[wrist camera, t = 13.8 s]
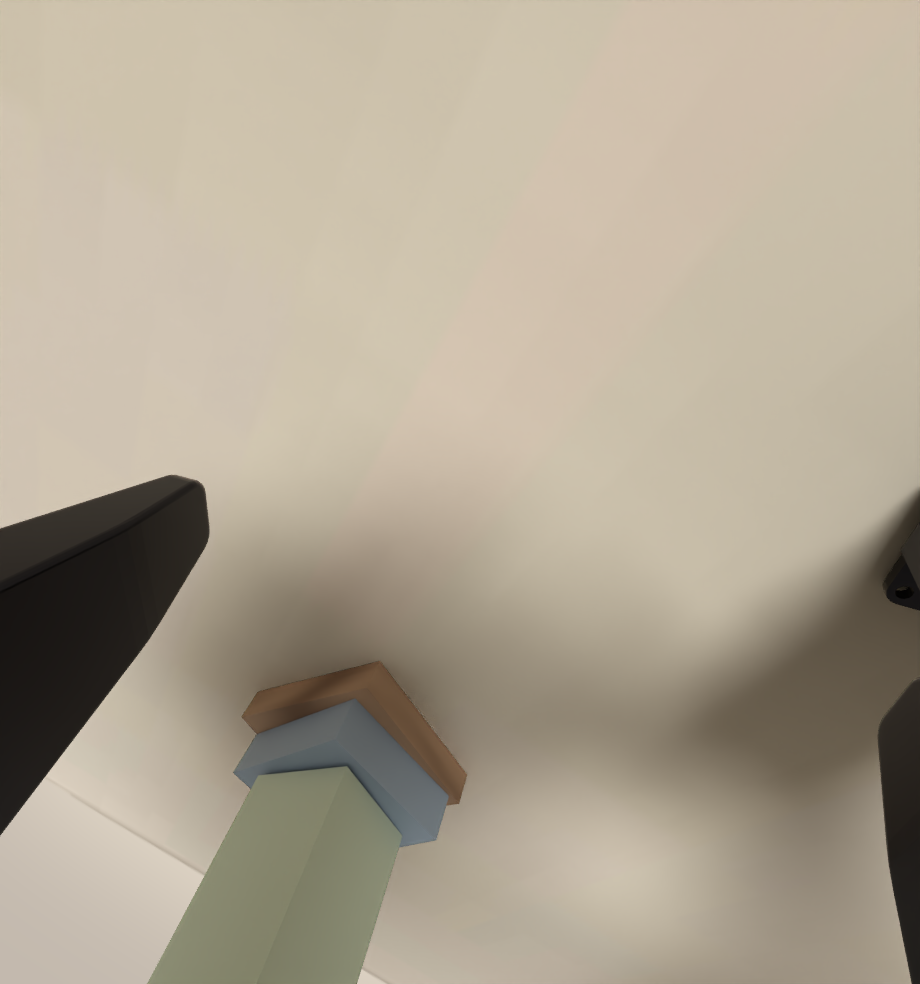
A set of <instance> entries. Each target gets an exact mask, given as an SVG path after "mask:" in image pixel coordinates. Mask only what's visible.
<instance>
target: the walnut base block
mask: <svg viewBox="0 0 920 984" xmlns="http://www.w3.org/2000/svg"><path fill="white" fill-rule="evenodd" d="M352 699H356V700H357V701H358V702H359V703H360V704H361V705H362V706H363V707H364V708H365V709H366V710H367V711H368V712H369V713H370V714H371V715H372V716H373V717H374V719H375V720H376V721H377V722H378V723H379V724H380V725H381V726H382V727H383V728H384V729H385V730H386V731H387V732H388V733H389V734H390V735H391V736H392V737H393V738H394V739H395V740H396V741H397V742H398V744H399V745H400V746H401V747H402V748H403V749H404V750H405V751H406V752H407V753H408V754H409V755H410V756H411V757H412V758H413V759H414V760H415V761H416V762H417V763H418V764H419V765H420V766H421V767H422V769H423V770H424V771H425V772H426V773H427V774H428V775H429V776H430V777H431V778H432V779H433V780H434V781H435V782H436V783H437V784H438V785H439V786H440V787H441V788H442V789H443V790H444V791H445V792H446V793H447V795H448V796H449V798H448V801H447V804H446V805H453V804H459V802H460V798H461V795H462V791H463V788H464V784H465V781H466V777H467V774H466V773H465V771H464V770H463V769H462V767H461V766H460V765H459V763H458V762H457V761H456V760H455V758H454V757H453V756H452V754H451V753H450V752H449V750H448V749H447V748H446V747H445V745H444V744H443V743H442V741H441V740H440V739H439V737H438V736H437V735H436V734H435V732H434V731H433V730H432V728H431V727H430V726H429V724H428V723H427V722H426V720H425V719H424V718H423V717H422V715H421V714H420V713H419V711H418V710H417V709H416V707H415V706H414V705H413V704H412V702H411V701H410V700H409V698H408V697H407V696H406V694H405V693H404V692H403V691H402V689H401V688H400V687H399V685H398V684H397V683H396V681H395V680H394V679H393V677H392V676H391V675H390V674H389V672H388V671H387V670H386V668H385V667H384V666H383V664H382V663H381V662H380V661H378V662H374V663H370V664H366V665H362V666H358V667H354V668H350V669H346V670H342V671H338V672H334V673H330V674H326V675H322V676H318V677H314V678H310V679H306V680H302V681H298V682H295V683H291V684H287V685H283V686H279V687H275V688H271V689H267V690H263V691H259V692H257V694H256V696H255V697H254V699H253V700H252V702H251V703H250V705H249V706H248V708H247V709H246V711H245V712H244V714H243V715H242V718H243V719H244V720H245V721H246V722H247V724H248V725H249V726H250V727H251V728H252V729H253V730H254V731H255V732H256V733H257V734H259V733H261V732H264V731H267V730H270V729H272V728H275V727H278V726H281V725H283V724H286V723H289V722H292V721H294V720H297V719H300V718H303V717H305V716H308V715H311V714H313V713H316V712H319V711H322V710H324V709H327V708H330V707H333V706H335V705H338V704H341V703H344V702H346V701H349V700H352Z"/></svg>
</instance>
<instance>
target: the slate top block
mask: <svg viewBox="0 0 920 984" xmlns="http://www.w3.org/2000/svg"><path fill="white" fill-rule="evenodd" d="M344 766H347V767H348V768H349V769H350V771H351V772H352V773H353V774H354V776H355V777H356V778H357V779H358V781H359V782H360V783H361V784H362V786H363V787H364V788H365V789H366V791H367V792H368V793H369V794H370V796H371V797H372V798H373V800H374V801H375V802H376V803H377V805H378V806H379V807H380V808H381V810H382V811H383V812H384V813H385V815H386V816H387V817H388V818H389V820H390V821H391V822H392V823H393V825H394V826H395V827H396V828H397V830H398V831H399V832H400V833H401V835H402V839H401V842H400V845H399V847H404V846H409V845H414V844H419V843H424V842H429V841H434V840H436V838H437V835H438V832H439V828H440V825H441V821H442V818H443V815H444V811H445V808H446V804H447V801H448V798H449V796H448V795H447V793H446V792H445V791H444V790H443V789H442V788H441V787H440V786H439V785H438V784H437V783H436V782H435V781H434V780H433V779H432V778H431V777H430V776H429V775H428V774H427V773H426V772H425V771H424V770H423V769H422V767H421V766H420V765H419V764H418V763H417V762H416V761H415V760H414V759H413V758H412V757H411V756H410V755H409V754H408V753H407V752H406V751H405V750H404V749H403V748H402V747H401V746H400V745H399V744H398V742H397V741H396V740H395V739H394V738H393V737H392V736H391V735H390V734H389V733H388V732H387V731H386V730H385V729H384V728H383V727H382V726H381V725H380V724H379V723H378V722H377V721H376V720H375V719H374V717H373V716H372V715H371V714H370V713H369V712H368V711H367V710H366V709H365V708H364V707H363V706H362V705H361V704H360V703H359V702H358V701H357V700H356V699H352V700H349V701H346V702H344V703H341V704H338V705H335V706H333V707H330V708H327V709H324V710H322V711H319V712H316V713H313V714H311V715H308V716H305V717H303V718H300V719H297V720H294V721H292V722H289V723H286V724H283V725H281V726H278V727H275V728H272V729H270V730H267V731H264V732H261V733H259V734H257V735H256V736H255V738H254V740H253V741H252V743H251V744H250V746H249V748H248V749H247V751H246V753H245V754H244V756H243V758H242V759H241V761H240V762H239V764H238V766H237V767H236V769H235V771H234V772H233V773H234V774H235V775H236V776H237V777H238V778H239V779H240V780H242V781H243V782H244V783H245V784H246V785H247V786H248V787H249V788H250V789H251V788H252V786H253V784H254V782H255V780H256V779H257V777H258V775H267V774H277V773H287V772H296V771H306V770H315V769H325V768H334V767H344Z"/></svg>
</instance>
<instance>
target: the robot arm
mask: <svg viewBox="0 0 920 984" xmlns="http://www.w3.org/2000/svg"><path fill="white" fill-rule="evenodd" d="M208 538H209V520H208V510H207V501H206V493H205V488H204V486H203V485H202V483H200V482H199V481H197V480H193V479H189V478H186V477H182V476H178V475H168V476H165V477H161V478H158V479H155V480H152V481H149V482H146V483H143V484H139V485H136V486H133V487H130V488H127V489H124V490H120V491H117V492H114V493H111V494H108V495H105V496H102V497H98V498H95V499H92V500H89V501H86V502H83V503H79V504H76V505H73V506H70V507H67V508H64V509H60V510H57V511H54V512H51V513H48V514H45V515H42V516H38V517H35V518H32V519H29V520H26V521H23V522H19V523H16V524H13V525H10V526H7V527H4V528H1V529H0V835H1V834H2V833H3V831H4V830H5V828H6V827H7V826H8V825H9V823H10V822H11V821H12V820H13V818H14V817H15V816H16V814H17V813H18V812H19V810H20V809H21V808H22V806H23V805H24V804H25V802H26V801H27V800H28V798H29V797H30V796H31V795H32V793H33V792H34V791H35V789H36V788H37V787H38V785H39V784H40V783H41V781H42V780H43V779H44V777H45V776H46V775H47V774H48V772H49V771H50V770H51V768H52V767H53V766H54V764H55V763H56V762H57V760H58V759H59V758H60V756H61V755H62V754H63V752H64V751H65V750H66V749H67V747H68V746H69V745H70V743H71V742H72V741H73V739H74V738H75V737H76V735H77V734H78V733H79V731H80V730H81V729H82V728H83V726H84V725H85V724H86V722H87V721H88V720H89V718H90V717H91V716H92V714H93V713H94V712H95V710H96V709H97V708H98V707H99V705H100V704H101V703H102V701H103V700H104V699H105V697H106V696H107V695H108V693H109V692H110V691H111V689H112V688H113V687H114V685H115V684H116V683H117V682H118V680H119V679H120V678H121V676H122V675H123V674H124V672H125V671H126V670H127V668H128V667H129V666H130V664H131V663H132V662H133V661H134V659H135V658H136V657H137V655H138V654H139V653H140V651H141V650H142V648H143V647H144V646H145V644H146V643H147V642H148V640H149V639H150V637H151V636H152V634H153V633H154V631H155V630H156V628H157V626H158V625H159V623H160V622H161V620H162V618H163V617H164V615H165V613H166V612H167V610H168V608H169V607H170V605H171V603H172V602H173V600H174V598H175V597H176V595H177V594H178V592H179V590H180V589H181V587H182V585H183V584H184V582H185V580H186V579H187V577H188V575H189V574H190V572H191V570H192V569H193V567H194V565H195V564H196V562H197V560H198V559H199V557H200V555H201V554H202V552H203V550H204V549H205V547H206V544H207V542H208ZM901 552H902V556H901V557H900V559H899V560H898V561H897V563H896V564H895V566H894V567H893V569H892V570H891V571H890V573H889V574H888V576H887V577H886V578H885V580H884V582H883V589H884V591H885V594H886V596H887V598H888V599H889V600H890V601H891V602H893V603H895V604H898V605H902V606H905V607H909V608H912V609H916V610H919V611H920V523H919V524H918V525H917V527H916V528H915V530H914V531H913V533H912V534H911V535H910V537H909V538H908V540H907V541H906V543H905V544H904V545H903V547H902V549H901ZM902 586H909V587H908V588H907V589H906V590H902V591H899V590H897V589H898V588H899V587H902ZM878 748H879V760H880V772H881V784H882V796H883V808H884V821H885V833H886V844H887V853H888V862H889V868H890V874H891V880H892V886H893V891H894V896H895V901H896V906H897V911H898V916H899V921H900V927H901V932H902V937H903V942H904V947H905V952H906V957H907V962H908V967H909V972H910V977H911V982H912V984H920V677H918V678H916V679H914V680H913V681H912V682H911V683H910V684H909V685H908V687H907V688H906V689H905V690H904V692H903V693H902V694H901V695H900V697H899V698H898V699H897V700H896V702H895V703H894V704H893V705H892V707H891V708H890V709H889V711H888V712H887V713H886V714H885V716H884V717H883V719H882V721H881V723H880V726H879V730H878Z"/></svg>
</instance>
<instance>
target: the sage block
mask: <svg viewBox="0 0 920 984" xmlns="http://www.w3.org/2000/svg"><path fill="white" fill-rule="evenodd" d="M401 839H402V835H401V833H400V832H399V831H398V830H397V828H396V827H395V826H394V825H393V823H392V822H391V821H390V820H389V818H388V817H387V816H386V815H385V813H384V812H383V811H382V810H381V808H380V807H379V806H378V805H377V803H376V802H375V801H374V800H373V798H372V797H371V796H370V794H369V793H368V792H367V791H366V789H365V788H364V787H363V786H362V784H361V783H360V782H359V781H358V779H357V778H356V777H355V776H354V774H353V773H352V772H351V771H350V769H349V768H348V767H347V766H344V767H334V768H325V769H315V770H306V771H296V772H287V773H277V774H267V775H258V777H257V779H256V780H255V782H254V784H253V786H252V788H251V790H250V792H249V794H248V795H247V797H246V799H245V801H244V803H243V805H242V807H241V809H240V810H239V812H238V814H237V816H236V818H235V820H234V822H233V824H232V826H231V827H230V829H229V831H228V833H227V835H226V837H225V839H224V841H223V842H222V844H221V846H220V848H219V850H218V852H217V854H216V856H215V857H214V859H213V861H212V863H211V865H210V867H209V869H208V871H207V872H206V874H205V876H204V878H203V880H202V882H201V884H200V886H199V887H198V889H197V891H196V893H195V895H194V897H193V899H192V901H191V903H190V904H189V906H188V908H187V910H186V912H185V914H184V916H183V918H182V920H181V921H180V923H179V925H178V927H177V929H176V931H175V933H174V934H173V936H172V938H171V940H170V942H169V944H168V946H167V948H166V949H165V951H164V953H163V955H162V957H161V959H160V961H159V963H158V964H157V967H156V968H155V970H154V972H153V974H152V976H151V978H150V979H149V982H148V983H147V984H357V981H358V978H359V975H360V972H361V969H362V965H363V962H364V959H365V956H366V952H367V949H368V946H369V943H370V939H371V936H372V933H373V930H374V926H375V923H376V920H377V917H378V913H379V910H380V907H381V904H382V900H383V897H384V894H385V891H386V888H387V884H388V881H389V878H390V875H391V871H392V868H393V865H394V862H395V858H396V855H397V852H398V849H399V845H400V842H401Z"/></svg>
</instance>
